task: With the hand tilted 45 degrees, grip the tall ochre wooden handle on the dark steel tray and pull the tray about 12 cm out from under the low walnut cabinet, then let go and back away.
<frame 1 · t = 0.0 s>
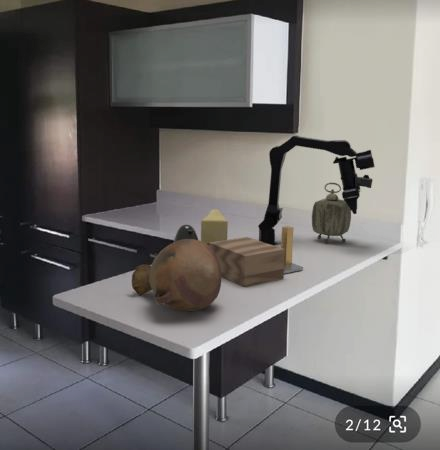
hand: (355, 211, 218), 15 cm above the counter, fingers open, 9 cm apart
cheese: (214, 252, 216), on the counter
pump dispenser: (186, 267, 194), on the counter
tabletop clock: (329, 242, 233), on the counter
jug: (173, 304, 158), on the counter
steel tray: (262, 250, 189), point 7 cm above the counter, slide at 0.0 cm
walnut cabinet: (245, 274, 186), on the counter
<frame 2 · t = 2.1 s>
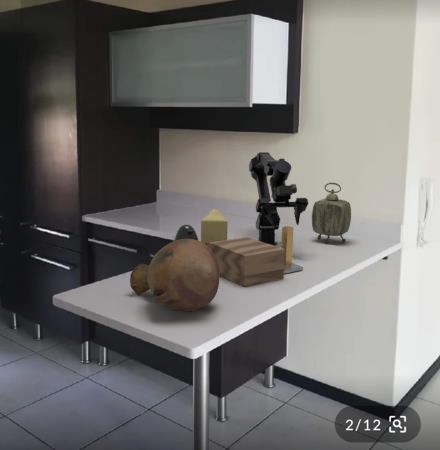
hand: (285, 224, 202), 14 cm above the counter, fingers open, 9 cm apart
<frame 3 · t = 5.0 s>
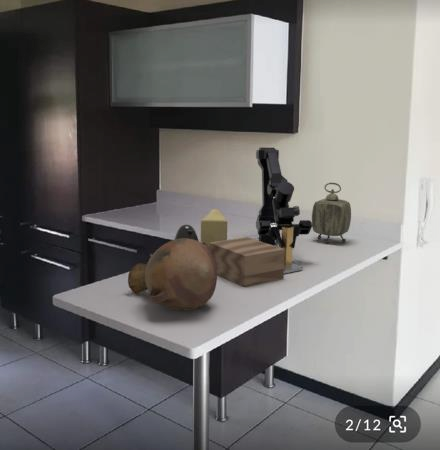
hand: (287, 248, 194), 7 cm above the counter, fingers closed on steel tray, 4 cm apart
steel tray: (262, 250, 189), point 7 cm above the counter, slide at 0.0 cm, touching gripper
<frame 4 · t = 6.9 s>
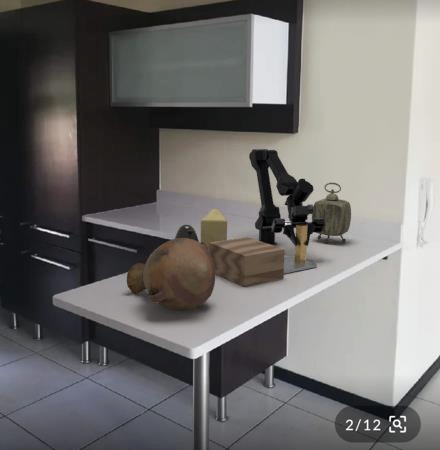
hand: (301, 245, 197), 7 cm above the counter, fingers closed on steel tray, 4 cm apart
steel tray: (277, 248, 193), point 7 cm above the counter, slide at 6.6 cm, touching gripper
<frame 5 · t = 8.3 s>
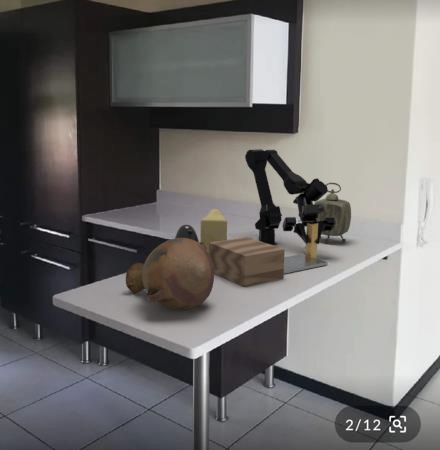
hand: (312, 243, 200), 7 cm above the counter, fingers closed on steel tray, 4 cm apart
steel tray: (288, 246, 195), point 7 cm above the counter, slide at 11.9 cm, touching gripper
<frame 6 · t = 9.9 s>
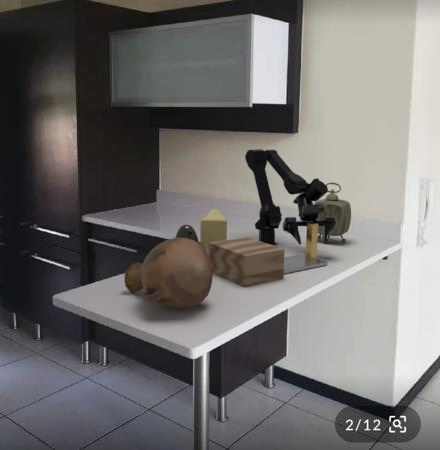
hand: (312, 243, 200), 7 cm above the counter, fingers open, 9 cm apart
steel tray: (288, 246, 195), point 7 cm above the counter, slide at 11.9 cm
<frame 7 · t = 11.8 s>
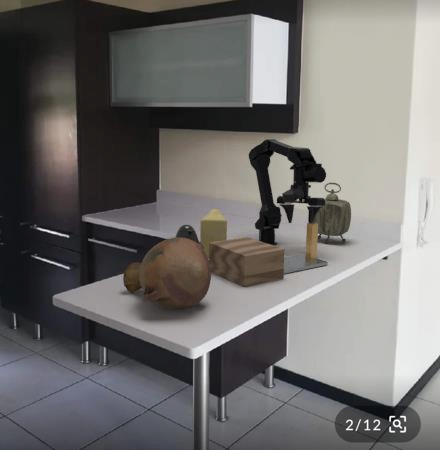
hand: (299, 223, 209), 12 cm above the counter, fingers open, 9 cm apart
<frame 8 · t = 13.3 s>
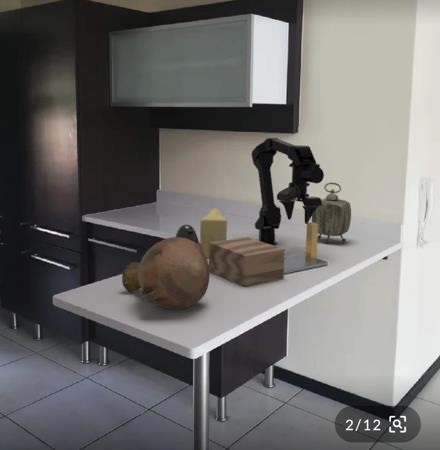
hand: (297, 221, 210), 13 cm above the counter, fingers open, 9 cm apart
at the end: steel tray slide at 11.9 cm; the gripper is holding nothing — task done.
